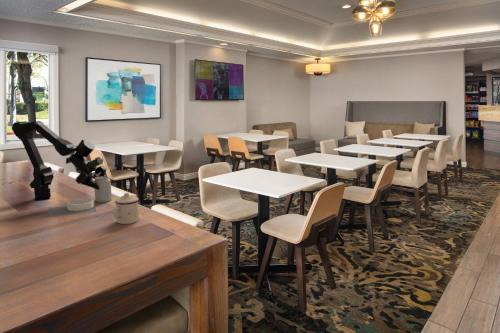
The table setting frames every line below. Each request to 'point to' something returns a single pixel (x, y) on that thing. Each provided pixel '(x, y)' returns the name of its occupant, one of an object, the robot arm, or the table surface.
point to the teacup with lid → (126, 209)
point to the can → (103, 189)
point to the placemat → (66, 211)
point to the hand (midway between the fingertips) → (104, 186)
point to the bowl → (80, 204)
